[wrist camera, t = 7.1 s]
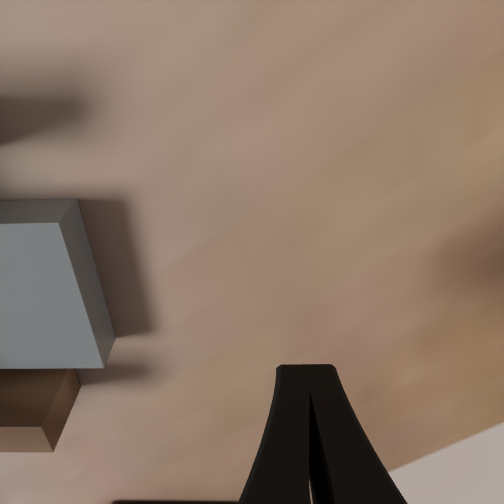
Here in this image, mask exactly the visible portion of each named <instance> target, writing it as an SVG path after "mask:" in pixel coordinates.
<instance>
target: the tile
mask: <svg viewBox="0 0 504 504" xmlns="http://www.w3.org/2000/svg"><path fill="white" fill-rule="evenodd" d="M115 339H116V337H115V333H114V330H113V326H112V323H111V319H110V315H109V312H108V308H107V305H106V301H105V297H104V294H103V290H102V287H101V283H100V280H99V276H98V272H97V269H96V265H95V262H94V258H93V255H92V251H91V247H90V244H89V240H88V237H87V233H86V230H85V226H84V222H83V219H82V215H81V212H80V208H79V205H78V201H77V198H76V199H31V200H0V369H54V368H104V367H105V364H106V362H107V359H108V357H109V354H110V351H111V349H112V346H113V344H114V341H115Z"/></svg>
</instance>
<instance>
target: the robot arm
mask: <svg viewBox="0 0 504 504" xmlns="http://www.w3.org/2000/svg"><path fill="white" fill-rule="evenodd" d="M309 480H310V486H311V493H312V499H313V504H407V502H406V501H405V499H404V498H403V496H402V495H401V493H400V491H399V490H398V488H397V487H396V485H395V484H394V482H393V480H392V479H391V477H390V476H389V474H388V472H387V471H386V469H385V467H384V466H383V464H382V462H381V461H380V459H379V457H378V456H377V454H376V452H375V451H374V449H373V447H372V445H371V443H370V441H369V440H368V438H367V436H366V434H365V432H364V430H363V429H362V427H361V425H360V423H359V421H358V419H357V417H356V415H355V413H354V411H353V409H352V407H351V405H350V402H349V400H348V398H347V396H346V394H345V391H344V389H343V387H342V384H341V382H340V379H339V376H338V374H337V371H336V368H335V367H334V366H333V365H332V364H301V365H280V366H278V367H277V368H276V382H275V389H274V395H273V400H272V404H271V408H270V413H269V417H268V420H267V423H266V427H265V430H264V434H263V437H262V440H261V444H260V447H259V450H258V452H257V455H256V458H255V461H254V463H253V466H252V469H251V472H250V474H249V477H248V480H247V482H246V485H245V487H244V490H243V492H242V495H241V497H240V499H239V502H238V504H311V502H310V490H309Z"/></svg>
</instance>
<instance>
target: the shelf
mask: <svg viewBox="0 0 504 504" xmlns="http://www.w3.org/2000/svg"><path fill="white" fill-rule="evenodd" d="M80 388H81V385H80V383H79V380H78V377H77V374H76V372H75V369H74V368H54V369H0V452H54V450H55V447H56V445H57V442H58V440H59V438H60V435H61V433H62V431H63V428H64V426H65V424H66V421H67V419H68V416H69V414H70V412H71V409H72V407H73V405H74V402H75V400H76V398H77V395H78V393H79V390H80Z"/></svg>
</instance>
